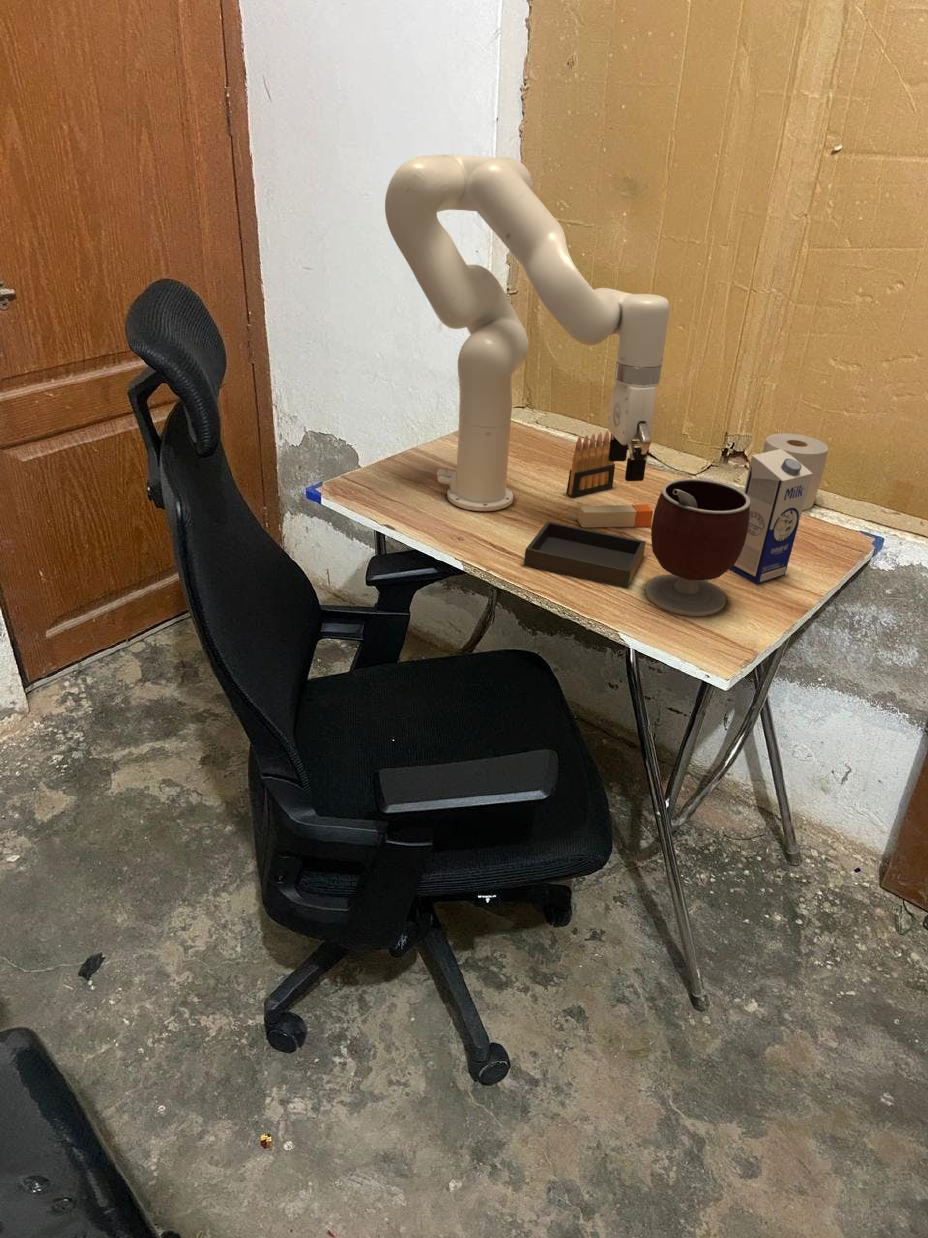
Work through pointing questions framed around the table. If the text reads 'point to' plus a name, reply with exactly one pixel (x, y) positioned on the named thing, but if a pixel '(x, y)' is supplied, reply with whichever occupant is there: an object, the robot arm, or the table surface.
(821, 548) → the table surface
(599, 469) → the ammunition clip
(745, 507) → the mate gourd
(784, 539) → the milk carton
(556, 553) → the tray
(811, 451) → the toilet paper roll
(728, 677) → the table surface
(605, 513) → the rectangular block
